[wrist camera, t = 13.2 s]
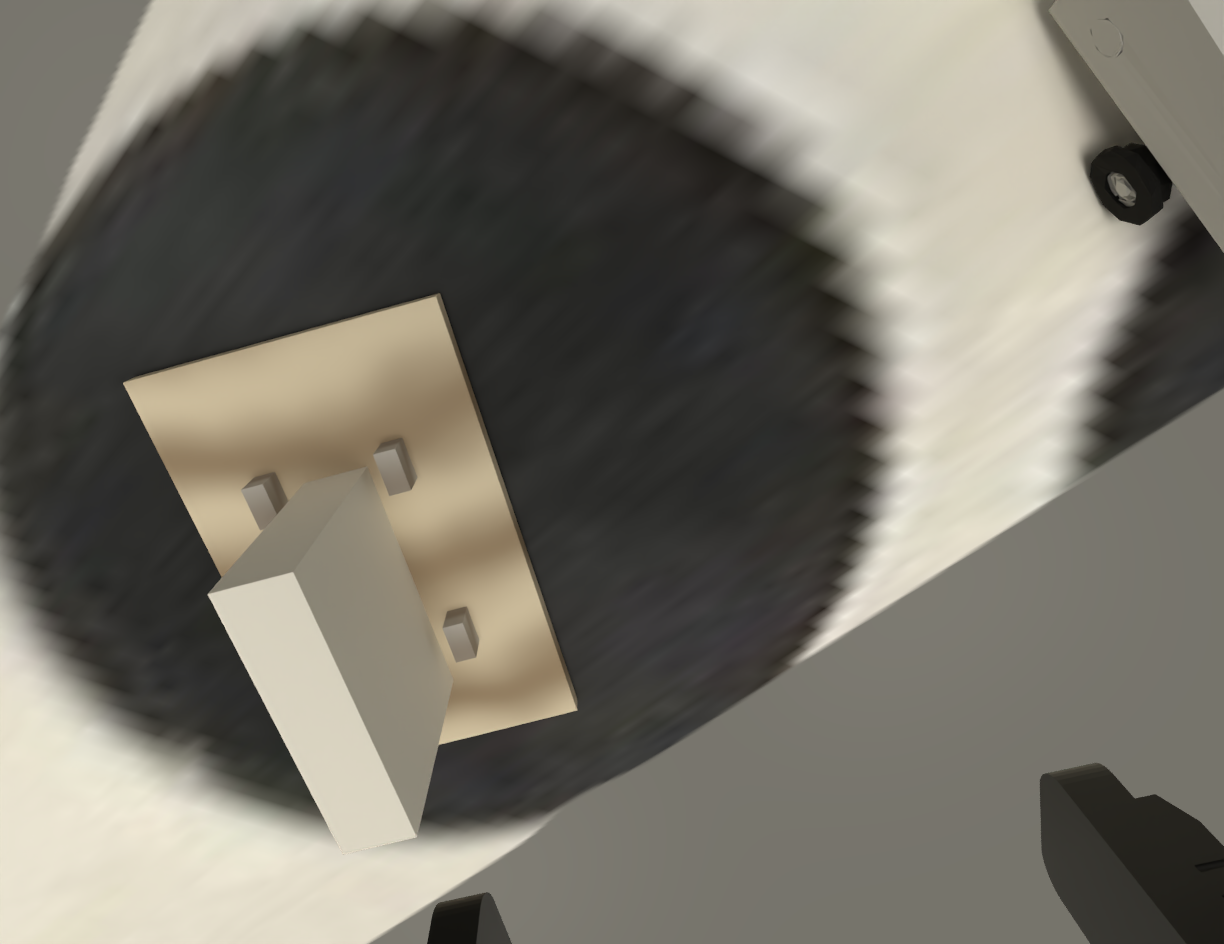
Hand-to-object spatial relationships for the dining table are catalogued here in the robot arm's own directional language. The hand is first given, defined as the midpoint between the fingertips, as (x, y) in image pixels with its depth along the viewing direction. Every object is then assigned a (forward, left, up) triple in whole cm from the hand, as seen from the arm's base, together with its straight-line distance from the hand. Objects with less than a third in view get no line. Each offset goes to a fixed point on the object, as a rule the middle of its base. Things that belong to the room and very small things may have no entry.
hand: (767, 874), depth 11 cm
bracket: (-12, +20, -24) cm, 34 cm away
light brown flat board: (+4, -14, -26) cm, 30 cm away
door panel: (+6, -14, -25) cm, 29 cm away
